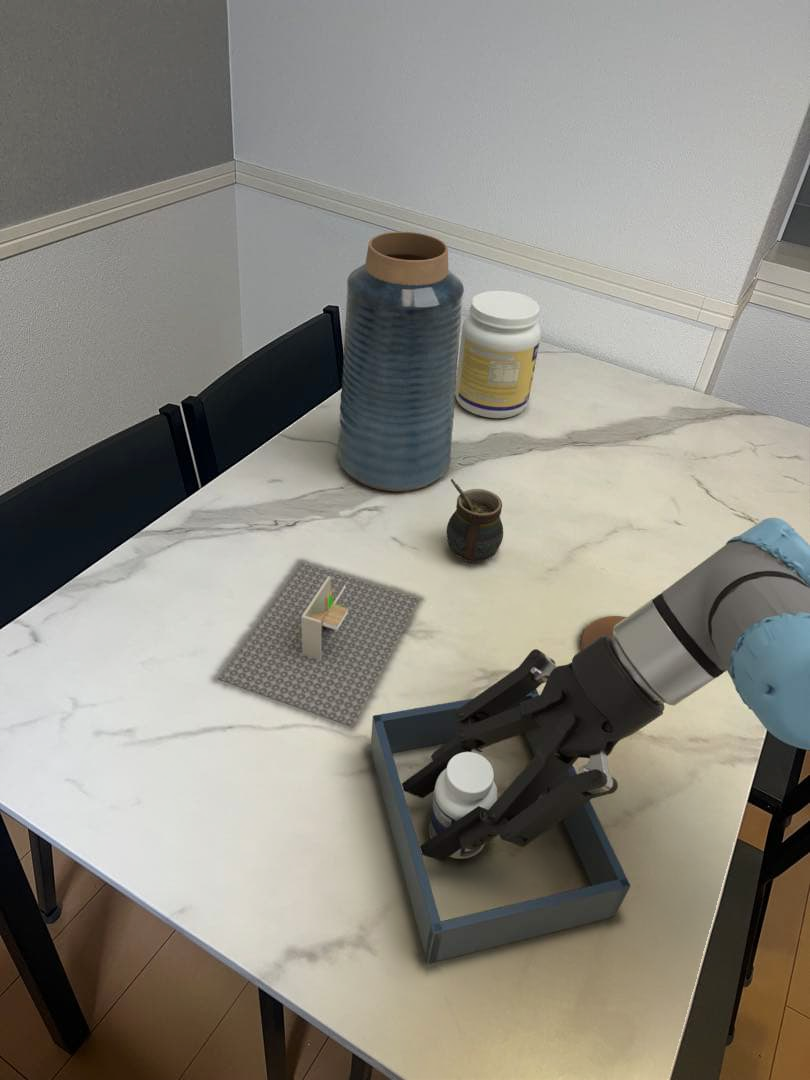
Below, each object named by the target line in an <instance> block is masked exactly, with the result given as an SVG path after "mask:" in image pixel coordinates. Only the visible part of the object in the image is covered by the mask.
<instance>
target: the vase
mask: <svg viewBox="0 0 810 1080" xmlns="http://www.w3.org/2000/svg"><path fill="white" fill-rule="evenodd" d="M346 280H347V281H346V304H345V305H346V308H345V322H344V324H345V325H344V341H343V342H344V343H343V359H342V361H343V363H342V375H341V376H342V378H341V380H342V381H341V390H340V391H341V392H340V403H339V420H338V421H339V422H338V440H337V459H338V461H339V464H340V466H341V467H342V469H343V470H344V471H345V472H346V474H348V475H349V476H350V477H351V478H353V479H354V480H356V481H357V482H358V483H361V484H362V485H365V486H367V487H370V488H373V489H377V490H381V491H387V492H388V491H389V492H408V491H414V490H419V489H421V488H424V487H427V486H429V485H432V484H433V483H434V482H436V481H437V480H439V479H440V478H441V477H442V476H443V475H444V474H445V473H446V471H447V470H448V468H449V466H450V462H451V453H452V442H453V429H454V428H453V427H454V419H455V418H454V416H455V404H456V401H455V399H456V395H455V387H456V379H457V370H458V361H459V349H460V338H461V337H460V335H461V334H460V332H461V324H462V323H461V322H462V313H463V311H462V308H463V299H464V292H465V288H464V284H463V282H462V281H461V279H460V277H458V276H457V275H456V274H455V273H453V272H452V271H451V270H450V269H449V248H448V245H447V244H446V243H445V242H444V241H443V240H442V239H441V240H440V239H439V238H437V237H435V236H433V235H429V234H426V233H422V232H415V231H389V232H388V231H387V232H383V233H381V234H377V235H375V236H373V237H372V238H371V239H370V240H369V241H368V245H367V251H366V258H365V263H363V264H362V265H360V266H359V267H356V268H355V269H354V270H352V271H351V273H350V274H349V275H348V276H347V279H346Z"/></svg>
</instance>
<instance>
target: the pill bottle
mask: <svg viewBox="0 0 810 1080" xmlns="http://www.w3.org/2000/svg"><path fill="white" fill-rule="evenodd" d="M494 778H495V773H494V768H493V766H492V764H491V762H490V761H489V760H488V759H487V758H486V757H484V755H481V754H480V753H477V752H473V751H471V752H463V753H459V754H457V755H455V756H454V757H452V758H451V760H450V761H449V763H448V765H447V768H446V769H445V770H443V771H442V773H441V774H440V775H439V777H438V779H437V781H436V785H435V790H434V791H433V798H432V803H431V810H430V818H429V827H428V831H429V837H430V839H431V838H433V837H434V836H436V835H437V834H439V833H440V832H442V831H443V830H444V829H446V828H447V827H449V826H450V825H452V824H453V823H455V822H456V821H458V820H459V819H460V818H462V817H463V816H465V815H466V814H468V813H469V812H471V811H472V810H473V809H475V808H476V807H478V806H480V807H482V808H485V809H487V810H489V809H490V808H491V806H492V805H493V804H494V803H495V802H496V801H497V799H498V788H497V784H496V782H495V779H494ZM485 846H486V843H485V844H484V845H482V846H481V847H479V848H478V849H475V850H469V849H467V848H464V847H463V848H461V849H460V850H458V851H457V852H455V853H454V854H452V855H451V856H449V857H450V858H453V859H456V860H457V859H458V860H459V859H461V860H462V859H463V860H464V859H469V858H471V857H474V856H476V855H478V854H479V853H480V852H481V851H482V850H483V849H484V847H485ZM449 857H448V858H449Z"/></svg>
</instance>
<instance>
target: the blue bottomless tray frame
mask: <svg viewBox="0 0 810 1080" xmlns="http://www.w3.org/2000/svg"><path fill="white" fill-rule="evenodd" d="M538 695H540V694H539V692H538V688H536V689H535V690H534V691H532V692H531V693H529V694H528V695H527V696H525V697H524V698H522V699H521V700H519V701H518V702H516V703H515V704H513V705H512V706H510V707H509V708H507V709H506V710H504V711H503V712H505V711H508V710H511V709H513V708H516V707H518V706H519V704H520V703H521V702H523V701H526V700H528V699H531V698H533V697H536V696H538ZM474 698H475V697H474ZM474 698H467V699H462V700H456V701H451V702H450V701H449V702H445V703H439V704H433V705H427V706H422V707H421V706H420V707H415V708H410V709H409V708H408V709H403V710H397V711H392V712H391V711H390V712H385V713H380V714H375V715H372V720H371V721H372V723H371V734H370V735H371V736H370V754H371V757H372V762H373V765H374V768H375V773H376V776H377V779H378V783H379V787H380V791H381V795H382V798H383V802H384V806H385V810H386V813H387V817H388V821H389V825H390V829H391V832H392V836H393V839H394V844H395V847H396V852H397V854H398V855H397V856H398V858H399V863H400V866H401V870H402V875H403V877H404V881H405V885H406V888H407V894H408V896H409V900H410V904H411V907H412V911H413V915H414V919H415V923H416V926H417V930H418V934H419V937H420V942H421V945H422V948H423V952H424V955H425V960H426V963H427V964H432V963H436V962H440V961H444V960H447V959H452V958H456V957H460V956H464V955H467V954H471V953H476V952H480V951H483V950H488V949H492V948H496V947H499V946H504V945H508V944H511V943H515V942H519V941H524V940H527V939H532V938H536V937H539V936H543V935H547V934H552V933H556V932H559V931H563V930H567V929H571V928H576V927H579V926H583V925H587V924H591V923H594V922H600V921H603V920H607V919H611V918H615V917H616V915H617V913H618V912H619V909H620V907H621V906H622V903H623V902H624V900H625V898H626V896H627V895H628V892H629V890H630V888H631V884H630V881H629V879H628V877H627V876H626V873H625V871H624V869H623V866H622V865H621V863H620V861H619V859H618V856H617V854H616V852H615V851H614V848H613V846H612V844H611V842H610V840H609V838H608V835H607V834H606V831H605V829H604V827H603V826H602V824H601V821H600V819H599V817H598V815H597V813H596V810H595V809H594V806H593V804H592V802H591V800H590V801H588V802H587V803H585V804H584V805H582V806H581V807H580V808H578V809H577V810H575V811H574V812H573V813H571V814H570V815H568V816H567V817H565V818H564V819H563V820H562V821H563V823H564V827H565V828H566V830H567V832H568V835H569V837H570V840H571V841H572V844H573V847H574V849H575V851H576V852H577V854H578V857H579V860H580V861H581V864H582V867H583V868H584V871H585V873H586V875H587V877H588V880H589V882H590V884H591V885H588V886H583V887H580V888H579V887H578V888H576V889H571V890H566V891H563V892H558V893H554V894H549V895H546V896H542V897H538V898H534V899H528V900H525V901H522V902H517V903H513V904H509V905H504V906H500V907H496V908H492V909H486V910H482V911H479V912H475V913H470V914H466V915H462V916H458V917H453V918H449V919H445V920H441V918H440V915H439V911H438V907H437V904H436V900H435V897H434V894H433V890H432V887H431V884H430V880H429V877H428V873H427V870H426V866H425V863H424V859H423V855H422V852H421V848H420V844H419V842H418V838H417V835H416V832H415V828H414V825H413V820H412V818H411V814H410V810H409V807H408V803H407V800H406V797H405V794H404V793H405V792H404V790H403V786H402V783H401V780H400V776H399V772H398V769H397V765H396V763H395V762H396V761H395V759H394V755H393V753H398V752H403V751H404V752H405V751H408V750H409V751H410V750H414V749H420V748H425V747H430V746H436V745H443V744H445V743H447V742H448V741H450V740H451V739H452V738H454V737H455V736H456V733H457V731H458V728H459V726H458V721H457V720H456V718H455V713H456V711H457V710H458V709H459V708H461V707H462V706H464V705H465V704H466V703H468V702H469V701H471V700H472V699H474ZM503 712H502V713H503ZM524 735H525V737H526V740H527V742H528V745H529V746H530V749H531V751H532V753H533V755H534V756H533V757H535V756H536V754H537V752H536V750H537V748H538V747H539V745H540V744H541V743H542V742H543V741H544V738H543V732H542V729H540V728H536V729H533V730H530V731H528V732H525V733H524ZM556 753H557V752H556ZM557 754H559V753H557ZM577 774H578V773H577V771H576V769H575V767H574V764H573V765H572V766H571V767H570V768H569V769H568V770H567V771H565V772H562V773H560V774H559V776H558V777H557V778H556V779H555V780H554V781H553V782H552V784H551V785H550V786H549V787H548V789H549V792H550V791H551V790H553V789H554V788H556V787H557V786H558V785H560V784H561V783H562V782H564V781H565V780H567V779H568V778H570V777H572V776H574V775H577Z"/></svg>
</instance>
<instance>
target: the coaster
mask: <svg viewBox="0 0 810 1080" xmlns="http://www.w3.org/2000/svg"><path fill="white" fill-rule="evenodd" d="M626 617H627V616H622V615H621V616H620V615H610V616H604V617H601V618H598V619H596V620H593V622H591V623H590V624H589V625H588V626H587V627H586V628H585V630H584V632H583V635H582V638H581V650H583V649H584V648H585V647H587V646H588V645H590V644H591V643H592V642H594V641H595V640H596V639H598V638H599V637H601V636H602V635H610V636H612V637H614V635H613V629H614V626H615V625H616V624H618V623H619V622H620V621H622V620H623V619H625V618H626Z"/></svg>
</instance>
